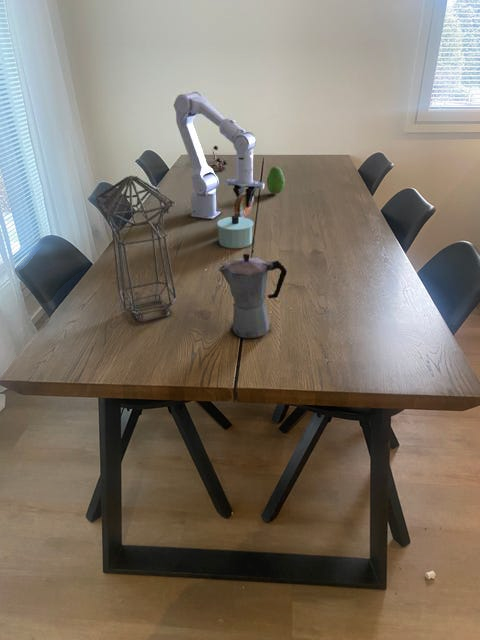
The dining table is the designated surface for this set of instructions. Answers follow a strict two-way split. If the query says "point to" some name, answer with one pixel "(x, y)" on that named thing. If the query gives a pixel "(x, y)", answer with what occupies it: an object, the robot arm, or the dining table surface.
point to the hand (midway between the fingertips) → (244, 206)
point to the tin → (243, 205)
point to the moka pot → (250, 293)
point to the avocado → (275, 180)
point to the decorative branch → (218, 161)
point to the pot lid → (235, 223)
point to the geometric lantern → (167, 204)
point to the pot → (235, 238)
